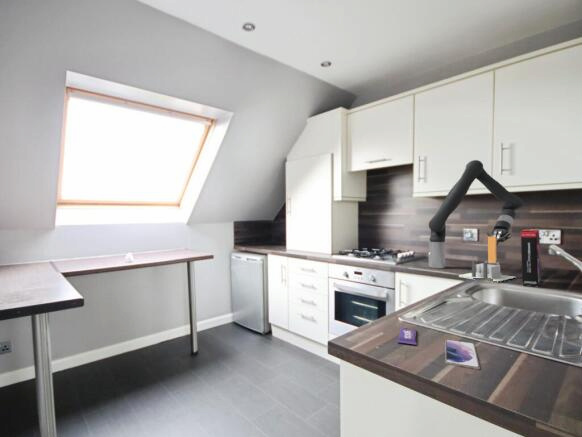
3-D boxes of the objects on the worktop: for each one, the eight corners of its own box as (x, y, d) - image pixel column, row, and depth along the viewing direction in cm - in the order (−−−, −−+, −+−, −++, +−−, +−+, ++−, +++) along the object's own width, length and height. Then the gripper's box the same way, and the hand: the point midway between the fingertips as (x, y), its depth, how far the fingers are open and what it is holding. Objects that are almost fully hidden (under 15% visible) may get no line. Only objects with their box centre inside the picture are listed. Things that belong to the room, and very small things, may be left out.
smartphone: (445, 362, 73) (445, 339, 86) (445, 365, 73) (445, 342, 86) (480, 368, 70) (474, 343, 83) (480, 371, 70) (474, 346, 83)
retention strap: (488, 264, 176) (487, 236, 176) (489, 263, 176) (489, 236, 176) (495, 264, 172) (495, 236, 172) (496, 264, 173) (496, 236, 173)
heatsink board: (458, 276, 174) (458, 260, 174) (477, 273, 185) (477, 257, 185) (497, 283, 157) (497, 264, 157) (515, 278, 168) (515, 261, 168)
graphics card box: (538, 287, 146) (538, 230, 146) (520, 285, 151) (520, 230, 151) (540, 282, 159) (540, 229, 159) (524, 280, 164) (523, 229, 164)
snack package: (416, 341, 83) (396, 338, 85) (416, 348, 83) (397, 345, 85) (417, 326, 93) (399, 324, 95) (417, 333, 93) (399, 331, 95)
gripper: (489, 219, 186) (478, 241, 179) (514, 219, 174) (504, 242, 168) (493, 228, 188) (483, 249, 182) (518, 228, 177) (508, 251, 171)
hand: (493, 246), depth 175 cm, fingers closed
